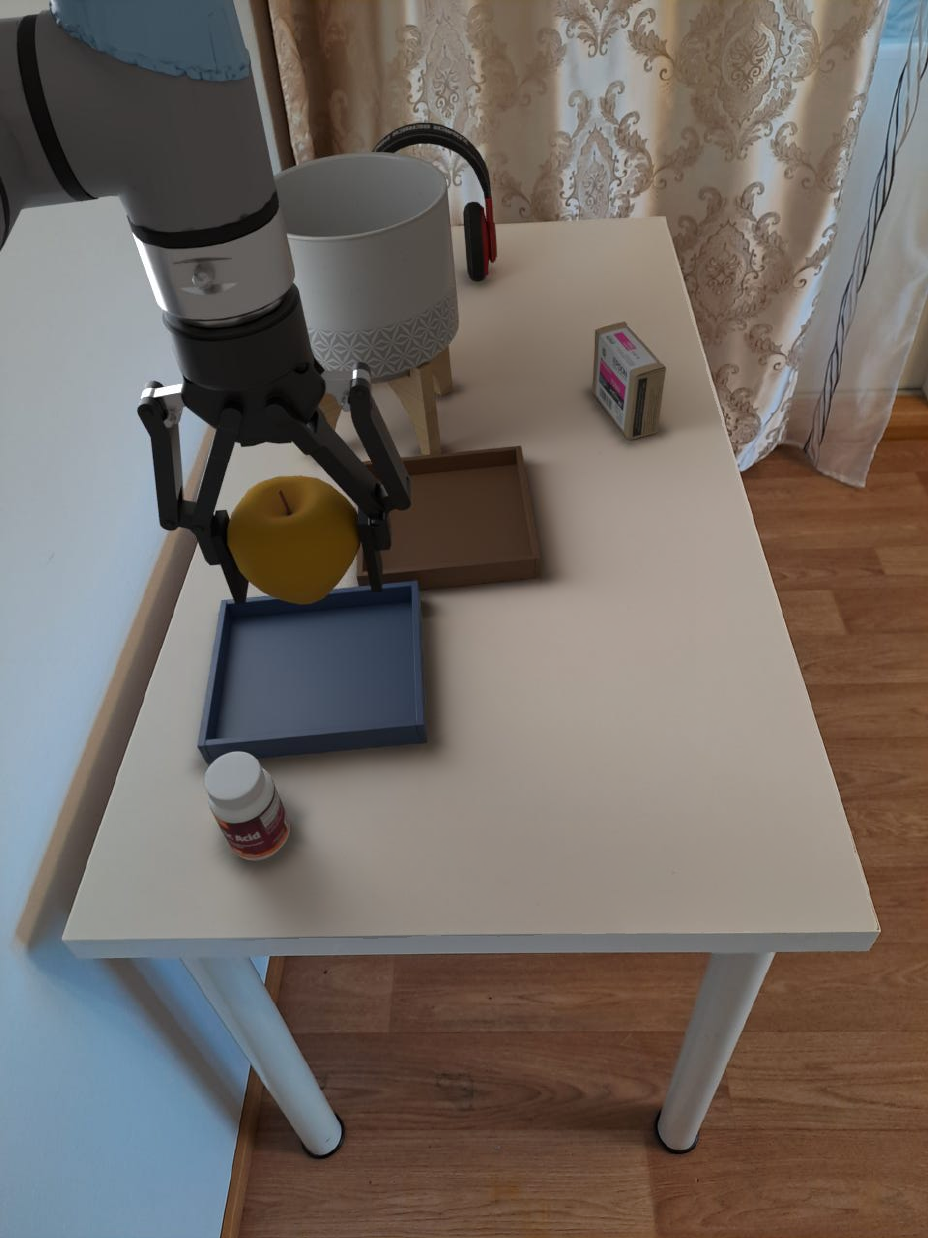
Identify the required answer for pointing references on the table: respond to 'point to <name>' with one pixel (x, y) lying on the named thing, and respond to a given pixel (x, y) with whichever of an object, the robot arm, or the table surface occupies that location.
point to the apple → (294, 537)
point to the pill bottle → (246, 806)
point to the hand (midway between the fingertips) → (309, 584)
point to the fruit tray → (316, 674)
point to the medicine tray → (461, 522)
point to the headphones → (475, 224)
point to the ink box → (627, 380)
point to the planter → (376, 274)
